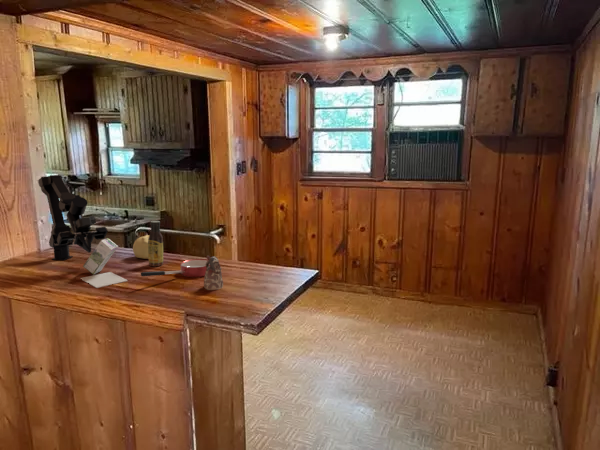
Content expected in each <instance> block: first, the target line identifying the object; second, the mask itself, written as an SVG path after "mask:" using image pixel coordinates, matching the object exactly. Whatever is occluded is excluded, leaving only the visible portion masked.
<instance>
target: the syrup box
mask: <svg viewBox="0 0 600 450" xmlns="http://www.w3.org/2000/svg"><path fill="white" fill-rule="evenodd" d="M118 248H119V245H117V244H116V243H115V242H113V241H112V240H111V239H110V238H108V237H107V238H106V237H105V238H104V239H101V240H100V241H99V242H98V244H97V246H96V247H95V249H94V250H93V251H92V253H91V254H90V256H89V257H88V258H87V260H86V261H85V263H84V264H83V265H82V267H83V268H84V269H86V270H87V272H89V273H90V274H92V276H93V275H97V274H99V272H101V271H102V270H103V268H104V267H105V265H106V264H107V263H108V262H109V260H110V259H111V257H112V256H113V255H114V253H115V252H116V251H117V249H118Z"/></svg>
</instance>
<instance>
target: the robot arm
mask: <svg viewBox="0 0 600 450" xmlns="http://www.w3.org/2000/svg"><path fill="white" fill-rule="evenodd" d="M38 186H39V187H40V190H41V192H42V193H43V194H44V195H45V196H46V198H47V203H48V207H49V211H50V212H49V213H50V217H51V220H52V226H53V227H52V229H51V231H50V236H49V241H48V243H49V247H50V248H53V256H54V257H52V258H51V260H52V261H53V260H54V261H66V260H70V259H71V258H73V257H74V255H70V246H73V245H77V246H79V247H81V248H82V249H83V250H84V251H86V252H88V253H91V252H92V242H94V239H95V240H104V239H106V236H107V234H108V231H109V230H108V228H107V227H106V226H101V227H98V226H97V227H96V228H95V229H94V230H92V231H91V228H92V227H91V226H93V225H95V224H96V223H97V219H96V218H95V216H94V215H91V216H90V215H89V216H88V217H84V216H83V215H84V214H85V211H86V209H87V206H88V204H89V203H88V200H87V199H86V198H85V197H82V196H80V194H73V193H71V192H70V191H69V189H68V187H67V185H66V184H65V182H64V180H63V176H62V175H60V174H53V175H52V174H51V175H48V176H41V177H40V178H38ZM65 212H66V220H67V222H68V223H69V225H70V226H69V225H67V224H66V223H65V219H64V215H63V213H65ZM71 231H72V232H73V233H72V232H71Z"/></svg>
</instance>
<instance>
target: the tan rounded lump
mask: <svg viewBox="0 0 600 450" xmlns="http://www.w3.org/2000/svg"><path fill="white" fill-rule="evenodd" d="M149 236H150V234H149V235H148V234H146V235H144V236H143V235H142V236H140V237H138V238H136V239H135V240H134V242H133V245H132V252H133V255H134V256H135V257H136V258H139V259H147V260H149V257H148V239H149Z"/></svg>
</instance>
